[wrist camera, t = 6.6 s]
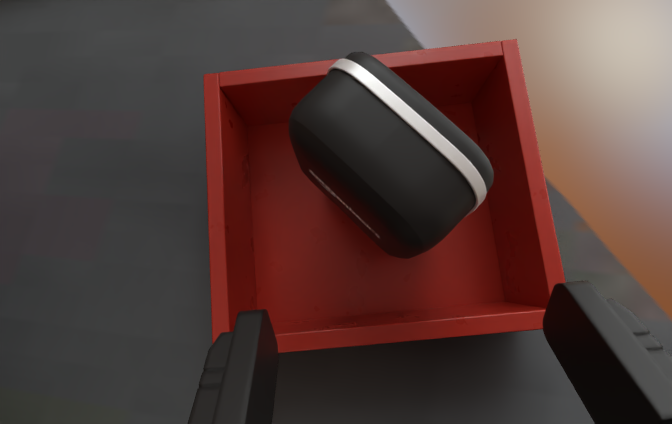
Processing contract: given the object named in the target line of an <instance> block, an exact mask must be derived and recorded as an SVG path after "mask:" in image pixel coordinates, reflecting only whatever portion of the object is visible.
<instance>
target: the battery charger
mask: <svg viewBox="0 0 672 424" xmlns="http://www.w3.org/2000/svg"><path fill="white" fill-rule="evenodd" d="M289 137H290V140H291V144H292V147H293V150H294V153H295V155H296V158H297V160H298V163H299V165H300V168H301V170H302V171H303V173H304V174H305V175H306V176H307V177H308V178H309V179H310V181H311V182H312V183H313V184H314V185H316V186H317V187H318V188H319V189H320V190H321V191H322V192H323V193H324V194H325V195H326V196H327V197H328V198H329V199H330V200H331V201H332V202H334V203H335V204H336V205H337V206H338V207H339V208H340V209H341V210H342V211H343V212H344V213H345V214H346V215H347V216H348V217H349V218H350V219H351V220H352V221H353V222H354V223H355V224H356V225H357V226H358V227H359V228H360V229H361V230H362V231H363V232H364V233H365V234H366V235H367V236H368V237H369V238H370V239H371V240H372V241H373V242H374V243H375V244H376V245H378V246H379V247H380V248H381V249H382V250H383V251H385V252H386V253H387V254H389V255H391V256H394V257H397V258H403V259H409V258H412V257H415V256H417V255H419V254H422V253H424V252H426V251H428V250H430V249H432V248H433V247H434V246H436V245H437V244H438V243H439V242H440V241H442V240H443V239H444V238H445V237H446V236H447V235H448V234H449V233H450V232H451V231H452V230H453V229H454V228H455V226H456V225H457V224H458V223H459V222H460V221H461V220H462V219H463V218H465V217H466V216H468V215H469V214H470V213H472V212H473V211H475V209H476V208H477V207H478V206H479V205H480V204H481V203H482V202H483V201H484V199H485V198H486V194H487V192H488V190H489V189H490V188H491V186H492V185H493V178H494V171H493V169H492V166H491V164H490V161H489V159H488V158H487V157H486V155H485V154H484V153H483V151H482V150H481V148H480V147H479V146H478V145H476V144H475V143H474V142H473V141H472V140H471V139H470V138H469V137H468V136H467V135H466V134H465V133H464V132H463V131H462V130H460V129H459V128H458V127H457V126H456V125H455V124H454V123H453V122H451V121H450V120H449V119H448V118H447V117H446V116H445V115H443V114H442V113H441V112H440V111H439V110H438V109H437V108H436V107H434V106H433V105H432V104H431V103H430V102H429V101H428V100H426V99H425V98H424V97H423V96H422V95H420V94H419V93H418V92H417V91H416V90H414V89H413V88H412V87H411V86H410V85H408V84H407V83H406V82H405V81H404V80H403V79H401V78H400V77H399V76H398V75H397V74H395V73H394V72H393V71H392V70H391V69H389V68H388V67H387V66H386V65H384V64H383V63H382V62H380V61H379V60H377V59H376V58H375V57H373V56H371V55H368V54H366V53H364V52H353V53H351V54H349V55H348V56H347V57H346V58H344V59H339V60H338V61H336V62H335V63H334V64H333V65H332V66H331V67H330V68H329V69H328V71H327V76H326V77H325V78H323V79H322V80H321V81H320V82H319V83H318V84H317V85H316V86H315V87H314V88H313V89H312V90H311V91H310V92H309V93H308V94H307V95H306V96H305V97H304V98H302V99H301V101H300V102H299V103H298V104H297V105H296V107H295V108H294V109H293V110H292V113H291V115H290V118H289Z"/></svg>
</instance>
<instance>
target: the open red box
mask: <svg viewBox="0 0 672 424" xmlns="http://www.w3.org/2000/svg"><path fill="white" fill-rule="evenodd" d="M371 56H373V57H375V58H376V59H377V60H379V61H380V62H382V63H383V64H384V65H386V66H387V67H388V68H389V69H391V70H392V71H393V72H394V73H395V74H397V75H398V76H399V77H400V78H401V79H403V80H404V81H405V82H406V83H407V84H408V85H410V86H411V87H412V88H413V89H414V90H416V91H417V92H418V93H419V94H420V95H422V96H423V97H424V98H425V99H426V100H428V101H429V102H430V103H431V104H432V105H433V106H434V107H436V108H437V109H438V110H439V111H440V112H441V113H442V114H443V115H445V116H446V117H447V118H448V119H449V120H450V121H451V122H453V123H454V124H455V125H456V126H457V127H458V128H459V129H460V130H462V131H463V132H464V133H465V134H466V135H467V136H468V137H469V138H470V139H471V140H472V141H473V142H474V143H475V144H476V145H478V146H479V147H480V148H481V150H482V151H483V153H484V154H485V155H486V157H487V158H488V159H489V161H490V164H491V166H492V169H493V171H494V178H493V185H492V186H491V188H490V189H489V190H488V192H487V194H486V198H485V199H484V201H483V202H482V203H481V204H480V205H479V206H478V207H477V208H476V209H475V211H473V212H472V213H470V214H469V215H468V216H466V217H465V218H463V219H462V220H461V221H460V222H459V223H458V224H457V225H456V226H455V228H454V229H453V230H452V231H451V232H450V233H449V234H448V235H447V236H446V237H445V238H444V239H443V240H442V241H440V242H439V243H438V244H437V245H436V246H434V247H433V248H432V249H430V250H428V251H426V252H424V253H422V254H419V255H417V256H415V257H412V258H409V259H403V258H397V257H394V256H391V255H389V254H387V253H386V252H385V251H383V250H382V249H381V248H380V247H379V246H378V245H376V244H375V243H374V242H373V241H372V240H371V239H370V238H369V237H368V236H367V235H366V234H365V233H364V232H363V231H362V230H361V229H360V228H359V227H358V226H357V225H356V224H355V223H354V222H353V221H352V220H351V219H350V218H349V217H348V216H347V215H346V214H345V213H344V212H343V211H342V210H341V209H340V208H339V207H338V206H337V205H336V204H335V203H334V202H332V201H331V200H330V199H329V198H328V197H327V196H326V195H325V194H324V193H323V192H322V191H321V190H320V189H319V188H318V187H317V186H316V185H314V184H313V183H312V182H311V181H310V179H309V178H308V177H307V176H306V175H305V174H304V173H303V171H302V170H301V168H300V165H299V163H298V160H297V158H296V155H295V153H294V150H293V147H292V144H291V140H290V137H289V118H290V115H291V113H292V110H293V109H294V108H295V107H296V105H297V104H298V103H299V102H300V101H301V99H302V98H304V97H305V96H306V95H307V94H308V93H309V92H310V91H311V90H312V89H313V88H314V87H315V86H316V85H317V84H318V83H319V82H320V81H321V80H322V79H323V78H325V77H326V76H327V71H328V69H329V68H330V67H331V66H332V65H333V64H334V63H335V62H336V61H338V60H339V59H335V60H326V61H317V62H308V63H300V64H291V65H282V66H273V67H264V68H255V69H246V70H237V71H228V72H220V73H213V74H205V75H204V105H205V135H206V164H207V194H208V224H209V254H210V283H211V313H212V343H214V342H215V340H216V339H217V338H218V336H219V335H220V333H222V332H233V331H234V326H235V322H236V318H237V315H238V313H239V312H240V311H247V310H258V309H267V311H268V314H269V317H270V320H271V324H272V327H273V330H274V333H275V337H276V340H277V344H278V353H284V352H295V351H306V350H317V349H329V348H340V347H351V346H362V345H373V344H384V343H395V342H406V341H417V340H428V339H439V338H450V337H461V336H472V335H483V334H494V333H505V332H516V331H527V330H539V329H543V317H544V314H545V311H546V308H547V305H548V302H549V299H550V296H551V293H552V290H553V287H554V286H555V284H557V283H566V282H565V277H564V272H563V267H562V262H561V257H560V252H559V247H558V242H557V237H556V232H555V227H554V222H553V217H552V212H551V207H550V202H549V197H548V192H547V187H546V182H545V177H544V172H543V168H542V162H541V158H540V153H539V148H538V142H537V138H536V132H535V128H534V123H533V118H532V113H531V108H530V103H529V98H528V93H527V88H526V83H525V78H524V73H523V68H522V63H521V58H520V53H519V48H518V43H517V39H513V40H504V41H501V42H500V41H496V42H487V43H477V44H468V45H460V46H451V47H442V48H433V49H424V50H415V51H406V52H397V53H388V54H380V55H371Z"/></svg>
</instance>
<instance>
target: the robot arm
mask: <svg viewBox="0 0 672 424" xmlns="http://www.w3.org/2000/svg"><path fill="white" fill-rule="evenodd" d="M543 331H544V334H545V337H546V340H547V341H548V343H549V345H550V347H551V348H552V350H553V352H554V354H555V355H556V357H557V359H558V361H559V362H560V364H561V366H562V367H563V369H564V371H565V373H566V374H567V376H568V378H569V379H570V381H571V383H572V385H573V386H574V388H575V390H576V392H577V393H578V395H579V397H580V398H581V400H582V402H583V404H584V405H585V407H586V409H587V411H588V412H589V414H590V416H591V417H592V419H593V421H594V423H595V424H672V357H671V356H670V355H669V354H668V352H667V351H664V350H663V348H662V345H661V344H660V343H659V342H658V341H657V340H656V339H655V337H654V336H653V335H650V333H649V330H648V329H647V328H646V327H645V326H644V325H643V324H642V322H641V321H640V320H639V319H638V318H637V317H636V315H635V314H634V313H632V312H631V311H629V310H628V309H627V308H625V307H624V306H622V305H621V304H619V303H618V302H616V301H615V300H614V299H605V298H604V297H603V296H602V295H601V293H600V292H599V291H598V290H597V289H596V287H595V286H594V285H593V284H592V283H590V282H588V281H577V282H566V283H557V284H555V286H554V287H553V290H552V293H551V296H550V299H549V302H548V305H547V308H546V311H545V314H544V317H543ZM203 369H204V372H203V373H202V375H201V379H200V382H199V389H197V393H196V396H195V400H194V403H193V407H192V410H191V414H190V417H189V421H188V424H272V415H273V406H274V397H275V387H276V378H277V369H278V344H277V340H276V337H275V333H274V330H273V327H272V324H271V320H270V317H269V314H268V311H267V309H258V310H247V311H240V312H239V313H238V315H237V318H236V322H235V326H234V331H233V332H222V333H220V335H219V336H218V338H217V339H216V340H215V342H214V343H213V345H212V346H211V347H210V349H209V351H208V355H207V358H206V361H205V365H204V368H203Z"/></svg>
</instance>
